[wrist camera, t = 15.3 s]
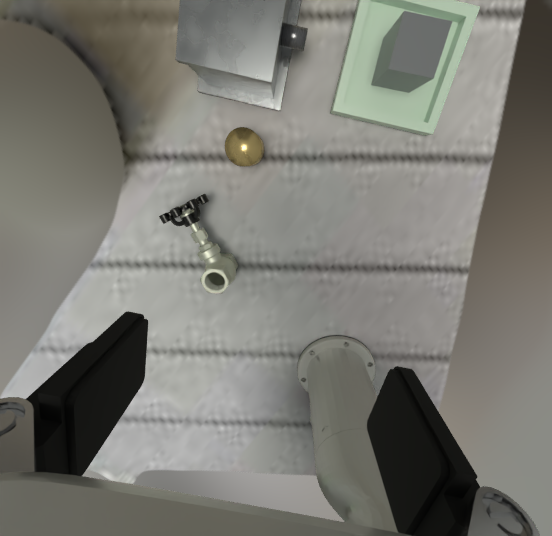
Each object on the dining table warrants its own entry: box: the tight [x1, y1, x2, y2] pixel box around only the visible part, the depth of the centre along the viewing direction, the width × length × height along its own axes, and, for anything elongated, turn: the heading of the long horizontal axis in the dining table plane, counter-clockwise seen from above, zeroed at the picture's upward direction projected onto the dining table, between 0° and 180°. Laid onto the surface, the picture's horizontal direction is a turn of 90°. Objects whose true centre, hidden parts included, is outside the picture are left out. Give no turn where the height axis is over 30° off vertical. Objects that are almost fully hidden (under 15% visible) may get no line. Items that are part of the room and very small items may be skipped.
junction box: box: [176, 0, 308, 111], centre depth 28 cm, size 12×11×10 cm
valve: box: [159, 194, 238, 294], centre depth 38 cm, size 7×7×12 cm
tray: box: [330, 0, 480, 136], centre depth 32 cm, size 12×12×2 cm
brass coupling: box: [225, 127, 264, 166], centre depth 34 cm, size 4×4×5 cm
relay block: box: [371, 11, 452, 93], centre depth 29 cm, size 5×4×6 cm
